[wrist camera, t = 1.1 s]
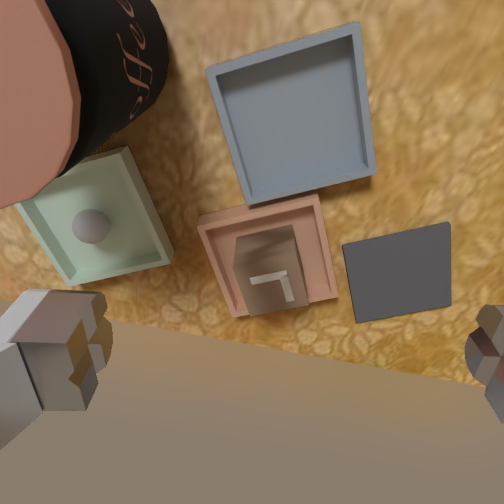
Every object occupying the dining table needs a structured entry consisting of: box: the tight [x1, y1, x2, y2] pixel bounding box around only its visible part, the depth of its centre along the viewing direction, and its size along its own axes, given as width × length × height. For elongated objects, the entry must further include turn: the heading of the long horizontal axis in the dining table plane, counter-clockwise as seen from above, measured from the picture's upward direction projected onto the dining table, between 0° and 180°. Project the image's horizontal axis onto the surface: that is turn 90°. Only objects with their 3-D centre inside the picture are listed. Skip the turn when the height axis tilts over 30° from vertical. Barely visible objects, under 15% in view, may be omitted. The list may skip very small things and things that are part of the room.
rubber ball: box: [72, 209, 110, 244], centre depth 35 cm, size 3×3×3 cm
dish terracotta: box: [196, 189, 339, 318], centre depth 37 cm, size 11×11×2 cm
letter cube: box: [233, 224, 309, 317], centre depth 36 cm, size 6×6×6 cm
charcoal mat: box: [342, 222, 451, 323], centre depth 39 cm, size 10×10×1 cm
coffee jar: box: [0, 0, 169, 209], centre depth 22 cm, size 11×11×18 cm
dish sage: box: [14, 145, 175, 287], centre depth 36 cm, size 11×11×2 cm
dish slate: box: [205, 21, 377, 205], centre depth 31 cm, size 11×11×2 cm
